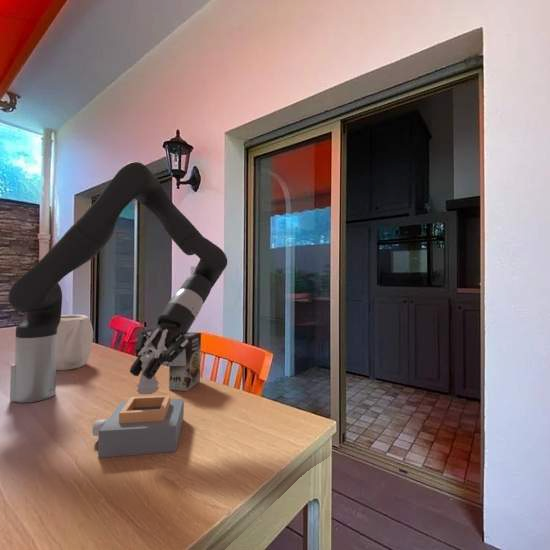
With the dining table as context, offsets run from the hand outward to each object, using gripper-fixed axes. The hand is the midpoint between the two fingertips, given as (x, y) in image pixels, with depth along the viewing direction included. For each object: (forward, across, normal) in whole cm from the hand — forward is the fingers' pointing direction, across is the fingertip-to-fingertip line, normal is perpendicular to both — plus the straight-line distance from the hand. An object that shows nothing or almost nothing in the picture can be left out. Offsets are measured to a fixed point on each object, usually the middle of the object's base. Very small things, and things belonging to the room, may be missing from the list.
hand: (140, 375), depth 65 cm
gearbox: (+9, -1, +10) cm, 14 cm away
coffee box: (-11, -14, +31) cm, 36 cm away
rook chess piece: (+2, 0, +4) cm, 5 cm away
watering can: (-7, -64, +27) cm, 70 cm away
